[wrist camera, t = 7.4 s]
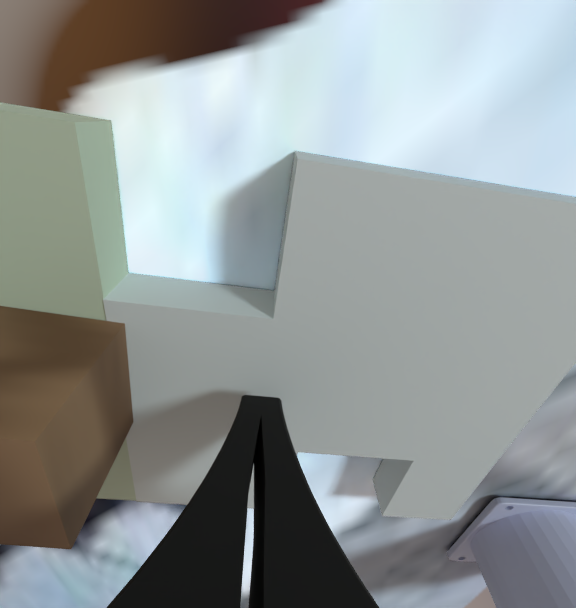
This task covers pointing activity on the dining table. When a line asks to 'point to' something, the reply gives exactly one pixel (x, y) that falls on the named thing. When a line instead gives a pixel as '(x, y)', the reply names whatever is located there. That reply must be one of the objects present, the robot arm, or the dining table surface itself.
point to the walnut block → (58, 421)
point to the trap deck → (309, 315)
